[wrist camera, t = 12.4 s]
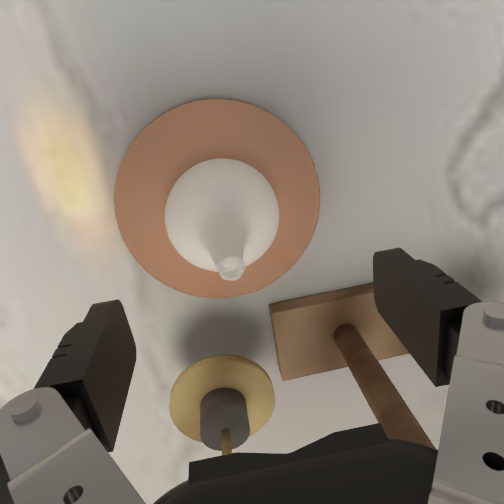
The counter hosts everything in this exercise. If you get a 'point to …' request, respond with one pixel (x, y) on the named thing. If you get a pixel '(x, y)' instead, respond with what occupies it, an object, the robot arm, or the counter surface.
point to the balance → (296, 370)
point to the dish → (202, 149)
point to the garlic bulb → (222, 216)
